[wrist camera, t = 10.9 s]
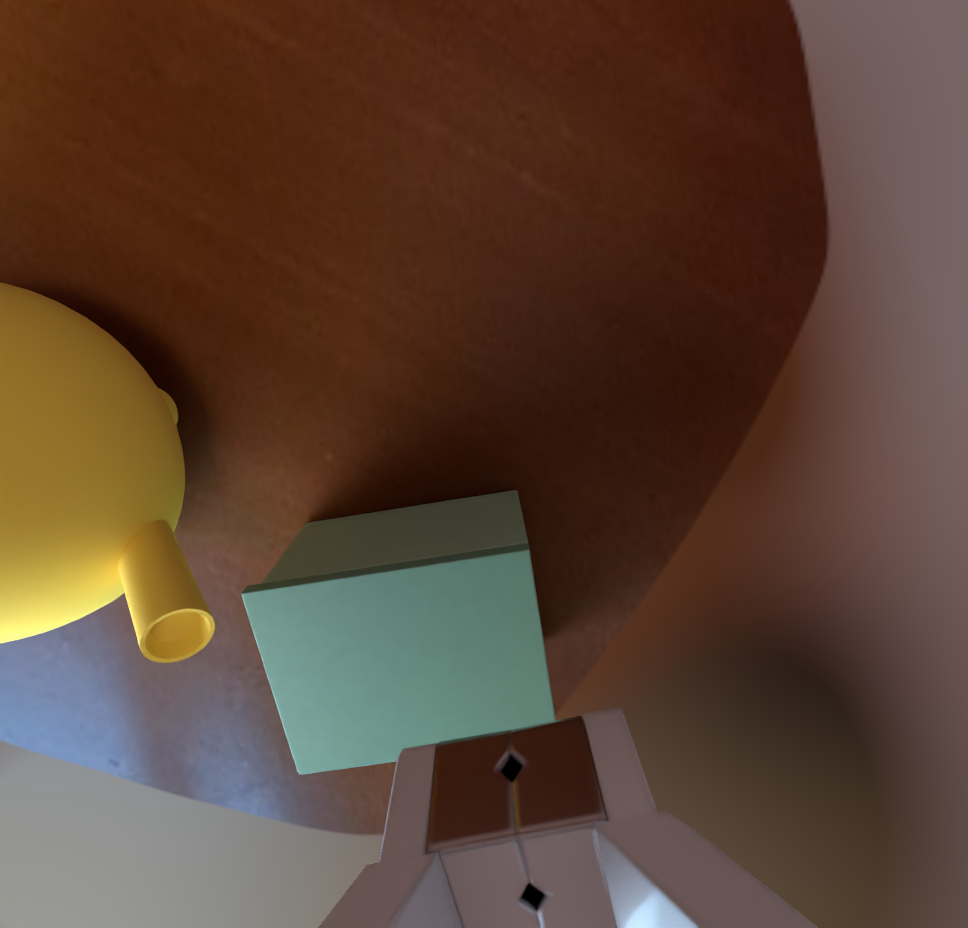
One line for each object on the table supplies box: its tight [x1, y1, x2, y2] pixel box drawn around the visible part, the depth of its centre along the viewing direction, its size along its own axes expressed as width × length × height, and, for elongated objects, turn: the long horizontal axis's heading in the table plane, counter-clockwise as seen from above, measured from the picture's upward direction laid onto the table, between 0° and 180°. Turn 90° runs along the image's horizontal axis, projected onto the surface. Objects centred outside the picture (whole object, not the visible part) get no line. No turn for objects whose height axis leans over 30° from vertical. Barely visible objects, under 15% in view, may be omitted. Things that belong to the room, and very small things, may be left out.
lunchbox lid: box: [241, 543, 556, 775], centre depth 25 cm, size 12×10×1 cm
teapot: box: [0, 282, 215, 663], centre depth 23 cm, size 20×16×14 cm
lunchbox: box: [262, 490, 528, 584], centre depth 29 cm, size 12×10×7 cm
